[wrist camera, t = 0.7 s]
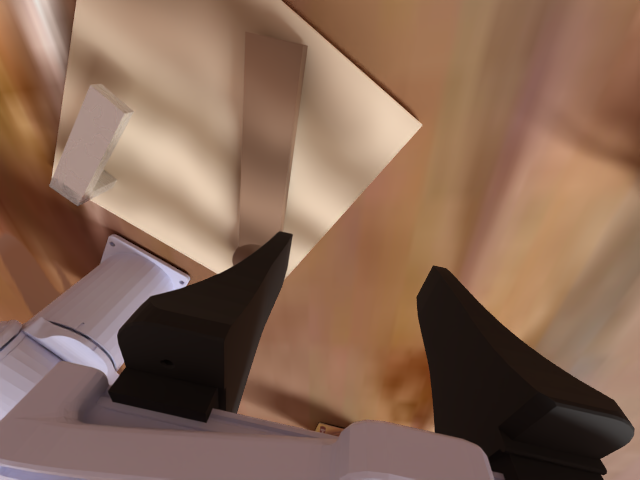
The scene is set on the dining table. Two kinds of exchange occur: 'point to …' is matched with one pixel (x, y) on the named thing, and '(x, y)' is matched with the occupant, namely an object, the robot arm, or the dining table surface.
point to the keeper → (91, 146)
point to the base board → (221, 120)
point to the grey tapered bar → (267, 136)
